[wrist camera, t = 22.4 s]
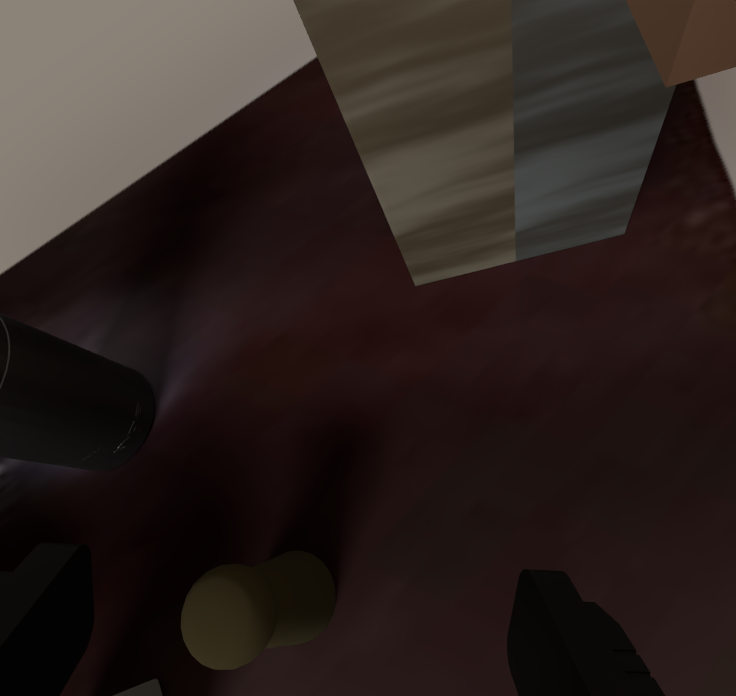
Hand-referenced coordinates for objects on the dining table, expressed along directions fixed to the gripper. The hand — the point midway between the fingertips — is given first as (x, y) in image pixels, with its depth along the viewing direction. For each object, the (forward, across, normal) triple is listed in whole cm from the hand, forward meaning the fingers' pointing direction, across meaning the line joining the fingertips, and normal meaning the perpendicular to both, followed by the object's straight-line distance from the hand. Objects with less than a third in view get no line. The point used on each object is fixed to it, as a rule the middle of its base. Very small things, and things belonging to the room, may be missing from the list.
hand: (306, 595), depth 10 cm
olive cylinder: (+23, +1, +20) cm, 31 cm away
